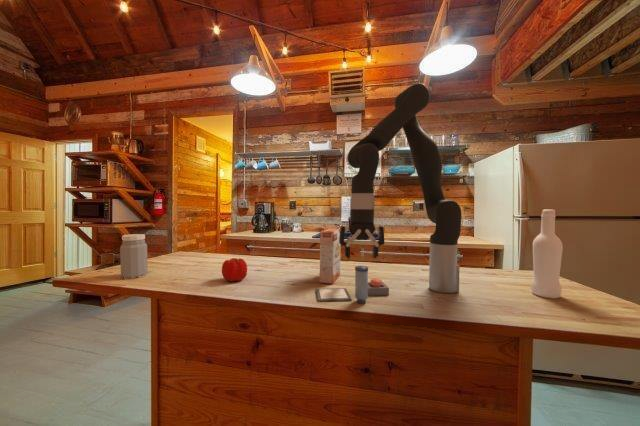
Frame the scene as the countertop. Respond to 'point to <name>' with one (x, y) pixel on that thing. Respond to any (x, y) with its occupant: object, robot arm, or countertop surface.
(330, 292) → the board
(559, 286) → the bottle
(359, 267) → the grey-blue cylinder
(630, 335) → the countertop surface
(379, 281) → the button
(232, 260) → the tomato
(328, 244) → the cracker box
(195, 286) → the countertop surface
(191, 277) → the countertop surface
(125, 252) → the jar
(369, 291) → the button collar
